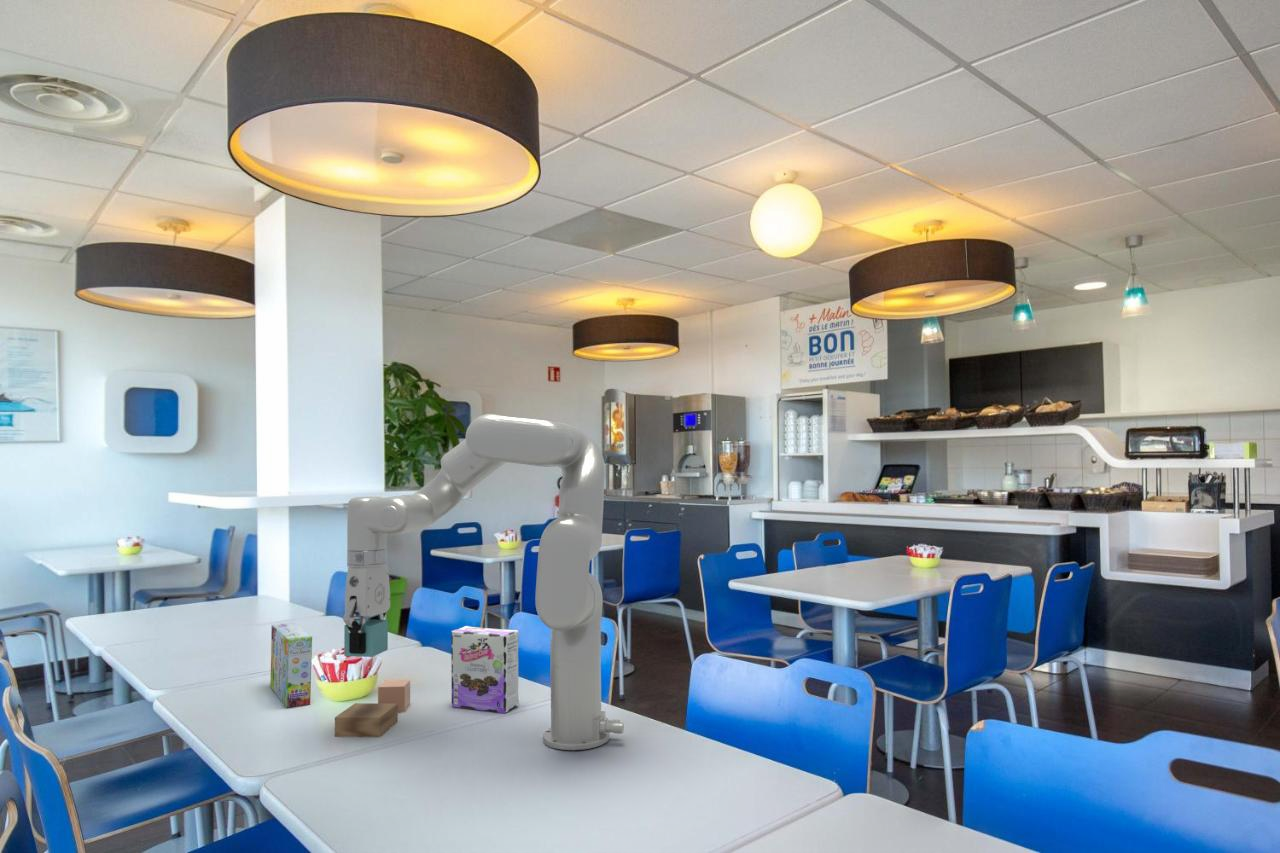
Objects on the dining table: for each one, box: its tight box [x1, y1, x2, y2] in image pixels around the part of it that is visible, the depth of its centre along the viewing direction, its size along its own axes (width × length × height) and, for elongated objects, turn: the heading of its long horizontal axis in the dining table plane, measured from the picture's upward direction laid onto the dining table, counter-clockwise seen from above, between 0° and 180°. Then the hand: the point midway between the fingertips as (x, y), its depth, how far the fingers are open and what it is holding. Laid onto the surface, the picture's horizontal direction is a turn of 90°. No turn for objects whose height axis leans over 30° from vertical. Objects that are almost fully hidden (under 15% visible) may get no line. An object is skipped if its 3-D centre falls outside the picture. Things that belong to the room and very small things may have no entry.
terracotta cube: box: [377, 679, 411, 714], centre depth 170 cm, size 6×6×6 cm
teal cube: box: [343, 618, 389, 658], centre depth 158 cm, size 6×6×6 cm
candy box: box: [450, 625, 519, 714], centre depth 171 cm, size 14×6×16 cm, turn 68°
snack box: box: [269, 621, 313, 709], centre depth 182 cm, size 21×6×15 cm, turn 34°
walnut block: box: [334, 702, 399, 738], centre depth 157 cm, size 9×9×4 cm
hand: (366, 648), depth 158 cm, fingers closed on teal cube, 6 cm apart
